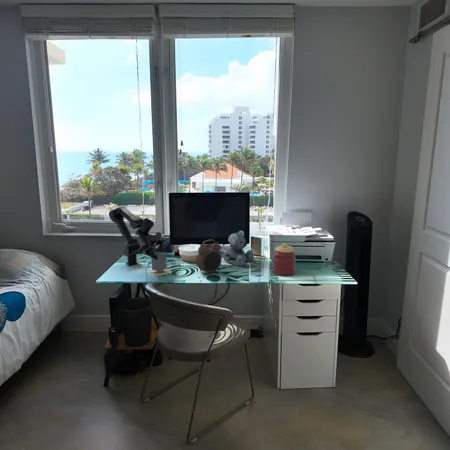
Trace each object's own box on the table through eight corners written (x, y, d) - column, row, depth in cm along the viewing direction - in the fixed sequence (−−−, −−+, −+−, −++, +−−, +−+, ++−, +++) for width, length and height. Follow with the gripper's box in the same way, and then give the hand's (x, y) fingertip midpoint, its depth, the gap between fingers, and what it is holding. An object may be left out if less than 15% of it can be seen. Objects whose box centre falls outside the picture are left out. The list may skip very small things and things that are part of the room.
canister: (278, 277, 198) (279, 247, 194) (269, 269, 210) (270, 241, 206) (299, 275, 201) (300, 245, 197) (289, 267, 213) (290, 239, 209)
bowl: (175, 257, 233) (175, 245, 231) (198, 254, 240) (198, 243, 238) (183, 264, 219) (183, 252, 217) (207, 261, 226) (207, 249, 224)
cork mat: (146, 271, 206) (146, 271, 206) (163, 268, 212) (163, 267, 212) (155, 277, 197) (154, 276, 197) (172, 273, 203) (172, 272, 203)
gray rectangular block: (151, 269, 203) (151, 254, 201) (158, 266, 208) (158, 251, 206) (160, 271, 200) (159, 255, 198) (166, 268, 205) (166, 252, 203)
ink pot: (155, 271, 205) (155, 266, 204) (160, 270, 207) (160, 265, 206) (158, 273, 202) (158, 267, 202) (163, 271, 204) (163, 266, 203)
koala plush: (242, 267, 213) (242, 236, 209) (217, 262, 222) (217, 232, 218) (255, 260, 227) (255, 230, 223) (231, 255, 237) (231, 227, 232)
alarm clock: (202, 277, 197) (201, 243, 192) (195, 274, 202) (195, 240, 198) (223, 272, 205) (223, 239, 201) (216, 269, 211) (216, 236, 206)
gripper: (140, 231, 193) (157, 254, 190) (163, 225, 209) (178, 245, 206) (131, 243, 199) (146, 265, 196) (153, 236, 214) (168, 256, 211)
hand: (160, 257), depth 202 cm, fingers closed on gray rectangular block, 6 cm apart
